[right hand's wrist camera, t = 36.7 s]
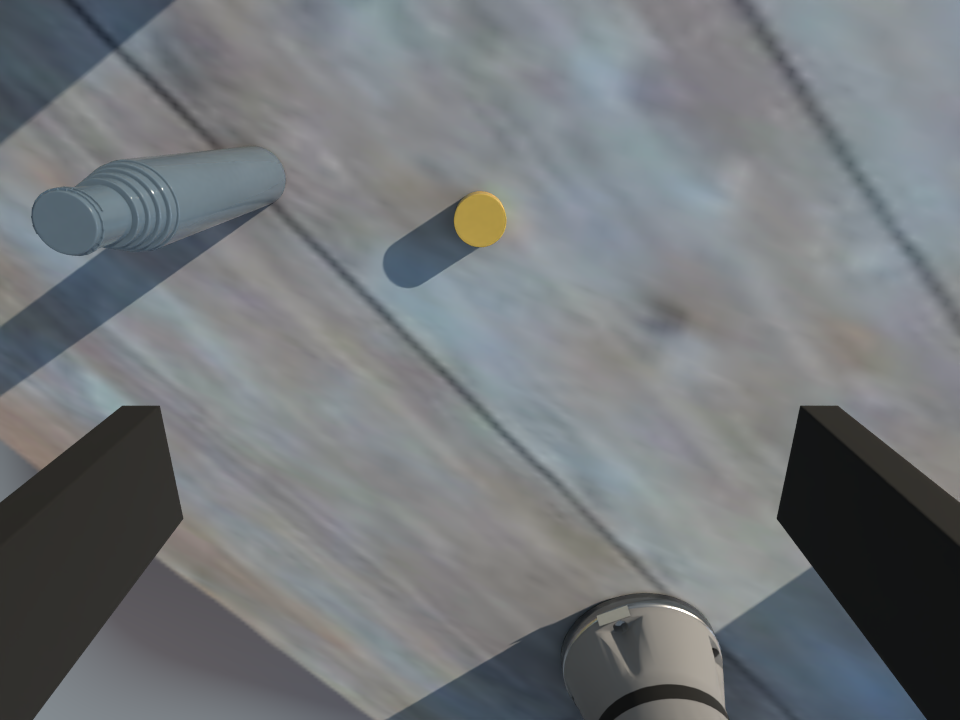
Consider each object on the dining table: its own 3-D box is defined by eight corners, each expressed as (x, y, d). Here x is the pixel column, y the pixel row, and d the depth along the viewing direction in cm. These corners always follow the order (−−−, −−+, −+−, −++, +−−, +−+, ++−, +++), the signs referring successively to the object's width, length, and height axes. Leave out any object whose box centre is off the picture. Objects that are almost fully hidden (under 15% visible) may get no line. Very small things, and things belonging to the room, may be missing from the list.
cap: (444, 216, 45) (442, 220, 44) (480, 180, 44) (480, 182, 43) (479, 252, 46) (479, 257, 45) (515, 217, 45) (517, 221, 44)
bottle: (275, 140, 44) (93, 157, 23) (293, 200, 45) (136, 266, 24) (219, 152, 44) (-11, 178, 23) (238, 211, 45) (37, 285, 25)
